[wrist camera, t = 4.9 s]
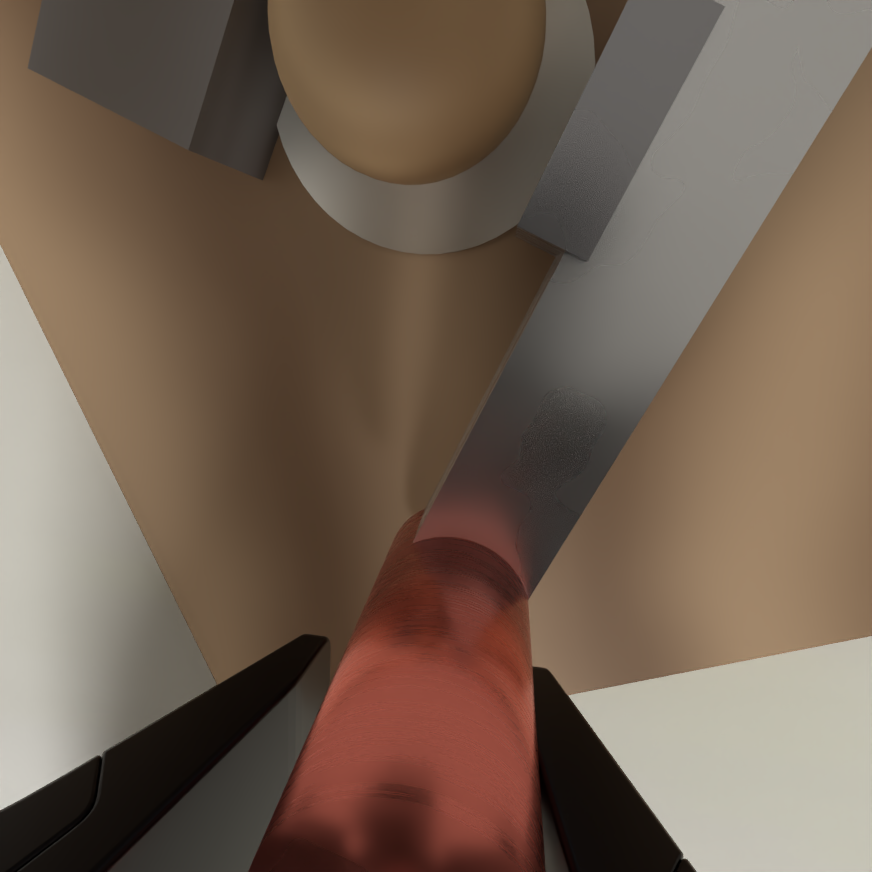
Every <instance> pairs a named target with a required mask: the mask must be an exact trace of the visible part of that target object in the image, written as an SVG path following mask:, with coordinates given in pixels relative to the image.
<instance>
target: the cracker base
mask: <svg viewBox="0 0 872 872" xmlns="http://www.w3.org/2000/svg"><path fill="white" fill-rule="evenodd" d="M627 1H628V0H545V2H546V34H545V45H544V51H543V57H542V62H541V66H540V70H539V73H538V77H537V80H536V83H535V86H534V89H533V91H532V94H531V96H530V99H529V101H528V104H527V105H526V107H525V109H524V111H523V113H522V115H521V117H520V118H519V120H518V122H517V123H516V124H515V126H514V127H513V129H512V130H511V132H510V133H509V134H508V136H507V137H506V138H505V139H504V140H503V141H502V142H501V143H500V145H499V146H498V147H497V148H496V149H495V150H494V151H493V152H491V153H490V154H489V155H488V156H487V157H486V158H484V159H483V160H482V161H480V162H479V163H477V164H476V165H474V166H473V167H471V168H470V169H468V170H466V171H464V172H462V173H460V174H458V175H456V176H454V177H451V178H448V179H445V180H442V181H439V182H434V183H428V184H422V185H402V184H393V183H388V182H384V181H380V180H376V179H373V178H371V177H369V176H366V175H364V174H362V173H359V172H357V171H355V170H353V169H352V168H350V167H348V166H347V165H345V164H343V163H342V162H340V161H339V160H338V159H337V158H335V157H334V156H333V155H332V154H330V153H329V152H328V151H327V150H326V149H325V148H324V147H323V146H322V145H321V144H320V143H319V142H318V141H317V140H316V139H315V138H314V137H313V136H312V135H311V133H310V132H309V131H308V129H307V128H306V127H305V125H304V124H303V123H302V121H301V120H300V118H299V117H298V115H297V113H296V111H295V110H294V108H293V106H292V104H291V103H290V101H289V99H288V97H287V94H286V92H285V90H284V87H283V85H282V83H281V80H280V78H279V74H278V71H277V68H276V64H275V61H274V56H273V51H272V45H271V40H270V34H269V24H268V0H0V245H1V247H2V249H3V251H4V253H5V255H6V257H7V259H8V261H9V263H10V265H11V267H12V269H13V271H14V273H15V275H16V277H17V279H18V281H19V283H20V285H21V287H22V289H23V292H24V294H25V296H26V298H27V300H28V302H29V304H30V306H31V308H32V310H33V312H34V314H35V316H36V318H37V320H38V322H39V324H40V326H41V328H42V330H43V332H44V334H45V336H46V338H47V340H48V342H49V344H50V346H51V348H52V350H53V352H54V354H55V356H56V358H57V361H58V363H59V365H60V367H61V369H62V371H63V373H64V375H65V377H66V379H67V381H68V383H69V385H70V387H71V389H72V391H73V393H74V395H75V397H76V399H77V401H78V403H79V405H80V407H81V409H82V411H83V413H84V415H85V417H86V419H87V421H88V423H89V425H90V428H91V430H92V432H93V434H94V436H95V438H96V440H97V442H98V444H99V446H100V448H101V450H102V452H103V454H104V456H105V458H106V460H107V462H108V464H109V466H110V468H111V470H112V472H113V474H114V476H115V478H116V480H117V482H118V484H119V486H120V488H121V490H122V492H123V494H124V497H125V499H126V501H127V503H128V505H129V507H130V509H131V511H132V513H133V515H134V517H135V519H136V521H137V523H138V525H139V527H140V529H141V531H142V533H143V535H144V537H145V539H146V541H147V543H148V545H149V547H150V549H151V551H152V553H153V555H154V557H155V559H156V561H157V563H158V566H159V568H160V570H161V572H162V574H163V576H164V578H165V580H166V582H167V584H168V586H169V588H170V590H171V592H172V594H173V596H174V598H175V600H176V602H177V604H178V606H179V608H180V610H181V612H182V614H183V616H184V618H185V620H186V622H187V624H188V626H189V628H190V630H191V632H192V635H193V637H194V639H195V641H196V643H197V645H198V647H199V649H200V651H201V653H202V655H203V657H204V659H205V661H206V663H207V665H208V667H209V669H210V671H211V673H212V675H213V677H214V679H215V681H216V683H217V685H218V684H219V683H221V682H223V681H225V680H226V679H228V678H230V677H231V676H233V675H235V674H236V673H238V672H240V671H241V670H243V669H245V668H246V667H248V666H250V665H252V664H253V663H255V662H257V661H258V660H260V659H262V658H263V657H265V656H267V655H268V654H270V653H272V652H274V651H275V650H277V649H279V648H280V647H282V646H284V645H285V644H287V643H289V642H290V641H292V640H294V639H295V638H297V637H299V636H301V635H303V634H313V635H320V636H326V637H328V638H329V640H330V644H331V656H330V684H331V681H332V679H333V677H334V674H335V672H336V670H337V668H338V665H339V663H340V661H341V659H342V656H343V654H344V652H345V649H346V647H347V645H348V643H349V640H350V638H351V636H352V633H353V631H354V629H355V627H356V624H357V622H358V620H359V618H360V615H361V613H362V611H363V608H364V606H365V604H366V602H367V599H368V597H369V595H370V592H371V590H372V588H373V586H374V583H375V581H376V579H377V577H378V574H379V572H380V570H381V567H382V565H383V563H384V561H385V558H386V556H387V554H388V551H389V549H390V547H391V545H392V542H393V540H394V538H395V536H396V534H397V532H398V531H399V529H400V528H401V526H402V525H403V524H404V523H405V522H406V521H407V520H408V519H409V518H410V517H411V516H413V515H414V514H416V513H417V512H419V511H421V510H423V509H425V508H426V506H427V504H428V502H429V500H430V498H431V496H432V494H433V492H434V490H435V488H436V486H437V484H438V482H439V481H440V479H441V477H442V475H443V473H444V471H445V469H446V467H447V465H448V463H449V461H450V459H451V457H452V456H453V454H454V452H455V450H456V448H457V446H458V444H459V442H460V440H461V438H462V436H463V434H464V432H465V431H466V429H467V427H468V425H469V423H470V421H471V419H472V417H473V415H474V413H475V411H476V409H477V407H478V406H479V404H480V402H481V400H482V398H483V396H484V394H485V392H486V390H487V388H488V386H489V384H490V382H491V380H492V379H493V377H494V375H495V373H496V371H497V369H498V367H499V365H500V363H501V361H502V359H503V357H504V355H505V354H506V352H507V350H508V348H509V346H510V344H511V342H512V340H513V338H514V336H515V334H516V332H517V330H518V329H519V327H520V325H521V323H522V321H523V319H524V317H525V315H526V313H527V311H528V309H529V307H530V305H531V304H532V302H533V300H534V298H535V296H536V294H537V292H538V290H539V288H540V286H541V284H542V282H543V280H544V279H545V277H546V275H547V273H548V271H549V269H550V267H551V265H552V263H553V261H554V259H555V256H553V255H551V254H549V253H547V252H545V251H543V250H541V249H539V248H537V247H535V246H533V245H531V244H529V243H527V242H525V241H523V240H521V239H519V238H517V237H515V236H516V230H517V226H518V223H519V221H520V219H521V217H522V215H523V213H524V211H525V209H526V207H527V205H528V203H529V201H530V199H531V197H532V195H533V193H534V191H535V189H536V187H537V185H538V183H539V181H540V179H541V177H542V175H543V172H544V170H545V168H546V166H547V164H548V162H549V160H550V158H551V156H552V154H553V152H554V150H555V148H556V146H557V144H558V142H559V140H560V138H561V136H562V134H563V132H564V130H565V128H566V126H567V124H568V121H569V119H570V117H571V115H572V113H573V111H574V109H575V107H576V105H577V103H578V101H579V99H580V97H581V95H582V93H583V91H584V89H585V87H586V85H587V83H588V81H589V79H590V77H591V75H592V73H593V70H594V68H595V66H596V64H597V62H598V60H599V58H600V56H601V54H602V52H603V50H604V48H605V46H606V44H607V42H608V40H609V38H610V36H611V34H612V32H613V30H614V28H615V26H616V24H617V22H618V20H619V17H620V15H621V13H622V11H623V9H624V7H625V5H626V3H627ZM528 605H529V621H530V636H531V652H532V666H536V667H543V668H547V669H548V670H550V672H551V673H552V674H553V676H554V677H555V678H556V680H557V681H558V683H559V684H560V685H561V687H562V688H563V689H564V691H565V692H566V694H567V695H571V694H576V693H581V692H586V691H591V690H597V689H602V688H607V687H612V686H617V685H622V684H627V683H632V682H638V681H643V680H648V679H653V678H658V677H663V676H668V675H673V674H679V673H684V672H689V671H694V670H699V669H704V668H709V667H714V666H720V665H725V664H730V663H735V662H740V661H745V660H750V659H756V658H761V657H766V656H771V655H776V654H781V653H786V652H791V651H797V650H802V649H807V648H812V647H817V646H822V645H827V644H832V643H838V642H843V641H848V640H853V639H858V638H863V637H868V636H872V48H871V49H870V51H869V53H868V54H867V56H866V57H865V59H864V61H863V62H862V64H861V65H860V67H859V69H858V70H857V72H856V73H855V75H854V77H853V78H852V80H851V82H850V83H849V85H848V86H847V88H846V90H845V91H844V93H843V94H842V96H841V98H840V99H839V101H838V102H837V104H836V106H835V107H834V109H833V110H832V112H831V114H830V115H829V117H828V119H827V120H826V122H825V123H824V125H823V127H822V128H821V130H820V131H819V133H818V135H817V136H816V138H815V139H814V141H813V143H812V144H811V146H810V147H809V149H808V151H807V152H806V154H805V156H804V157H803V159H802V160H801V162H800V164H799V165H798V167H797V168H796V170H795V172H794V173H793V175H792V176H791V178H790V180H789V181H788V183H787V184H786V186H785V188H784V189H783V191H782V193H781V194H780V196H779V197H778V199H777V201H776V202H775V204H774V205H773V207H772V209H771V210H770V212H769V213H768V215H767V217H766V218H765V220H764V221H763V223H762V225H761V226H760V228H759V230H758V231H757V233H756V234H755V236H754V238H753V239H752V241H751V242H750V244H749V246H748V247H747V249H746V250H745V252H744V254H743V255H742V257H741V258H740V260H739V262H738V263H737V265H736V267H735V268H734V270H733V271H732V273H731V275H730V276H729V278H728V279H727V281H726V283H725V284H724V286H723V287H722V289H721V291H720V292H719V294H718V295H717V297H716V299H715V300H714V302H713V304H712V305H711V307H710V308H709V310H708V312H707V313H706V315H705V316H704V318H703V320H702V321H701V323H700V324H699V326H698V328H697V329H696V331H695V333H694V334H693V336H692V337H691V339H690V341H689V342H688V344H687V345H686V347H685V349H684V350H683V352H682V353H681V355H680V357H679V358H678V360H677V361H676V363H675V365H674V366H673V368H672V370H671V371H670V373H669V374H668V376H667V378H666V379H665V381H664V382H663V384H662V386H661V387H660V389H659V390H658V392H657V394H656V395H655V397H654V398H653V400H652V402H651V403H650V405H649V407H648V408H647V410H646V411H645V413H644V415H643V416H642V418H641V419H640V421H639V423H638V424H637V426H636V427H635V429H634V431H633V432H632V434H631V435H630V437H629V439H628V440H627V442H626V444H625V445H624V447H623V448H622V450H621V452H620V453H619V455H618V456H617V458H616V460H615V461H614V463H613V464H612V466H611V468H610V469H609V471H608V472H607V474H606V476H605V477H604V479H603V481H602V482H601V484H600V485H599V487H598V489H597V490H596V492H595V493H594V495H593V497H592V498H591V500H590V501H589V503H588V505H587V506H586V508H585V509H584V511H583V513H582V514H581V516H580V518H579V519H578V521H577V522H576V524H575V526H574V527H573V529H572V530H571V532H570V534H569V535H568V537H567V538H566V540H565V542H564V543H563V545H562V546H561V548H560V550H559V551H558V553H557V555H556V556H555V558H554V559H553V561H552V563H551V564H550V566H549V567H548V569H547V571H546V572H545V574H544V575H543V577H542V579H541V580H540V582H539V583H538V585H537V587H536V588H535V590H534V592H533V593H532V595H531V596H530V598H529V600H528ZM329 686H330V685H329Z"/></svg>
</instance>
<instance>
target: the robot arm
mask: <svg viewBox="0 0 872 872" xmlns="http://www.w3.org/2000/svg"><path fill="white" fill-rule="evenodd" d="M330 656H331V644H330V640H329V638H328V637H326V636H320V635H313V634H303V635H301V636H299V637H297V638H295V639H294V640H292V641H290V642H289V643H287V644H285V645H284V646H282V647H280V648H279V649H277V650H275V651H274V652H272V653H270V654H268V655H267V656H265V657H263V658H262V659H260V660H258V661H257V662H255V663H253V664H252V665H250V666H248V667H246V668H245V669H243V670H241V671H240V672H238V673H236V674H235V675H233V676H231V677H230V678H228V679H226V680H225V681H223V682H221V683H219V684H218V685H216V686H214V687H213V688H211V689H209V690H208V691H206V692H204V693H203V694H201V695H199V696H197V697H196V698H194V699H192V700H191V701H189V702H187V703H186V704H184V705H182V706H181V707H179V708H177V709H175V710H174V711H172V712H170V713H169V714H167V715H165V716H164V717H162V718H160V719H159V720H157V721H155V722H154V723H152V724H150V725H148V726H147V727H145V728H143V729H142V730H140V731H138V732H137V733H135V734H133V735H132V736H130V737H128V738H126V739H125V740H123V741H121V742H120V743H118V744H116V745H115V746H113V747H111V748H110V749H108V750H106V751H105V752H104V753H103V754H102V758H101V756H96V757H94V758H92V759H91V760H89V761H87V762H86V763H84V764H82V765H80V766H79V767H77V768H75V769H74V770H72V771H70V772H69V773H67V774H65V775H63V776H62V777H60V778H58V779H56V780H55V781H53V782H51V783H49V784H47V785H46V786H44V787H42V788H40V789H39V790H37V791H35V792H33V793H32V794H30V795H28V796H26V797H25V798H23V799H21V800H19V801H17V802H15V803H13V804H12V805H10V806H8V807H6V808H4V809H2V810H0V872H248V871H249V869H250V866H251V864H252V861H253V859H254V857H255V854H256V852H257V850H258V848H259V845H260V843H261V841H262V839H263V836H264V834H265V832H266V829H267V827H268V825H269V823H270V820H271V818H272V816H273V813H274V811H275V809H276V807H277V804H278V802H279V800H280V798H281V795H282V793H283V791H284V788H285V786H286V784H287V782H288V779H289V777H290V775H291V772H292V770H293V768H294V766H295V763H296V761H297V759H298V757H299V754H300V752H301V750H302V747H303V745H304V743H305V741H306V738H307V736H308V734H309V731H310V729H311V727H312V725H313V722H314V720H315V718H316V716H317V713H318V711H319V709H320V706H321V704H322V702H323V700H324V697H325V695H326V693H327V690H328V688H329V685H330ZM532 667H533V683H534V698H535V714H536V729H537V745H538V760H539V776H540V791H541V806H542V822H543V837H544V853H545V868H546V872H696V870H695V869H694V868H693V866H692V865H691V863H690V862H689V861H688V860H687V859H683V853H682V852H681V850H680V849H679V847H678V846H677V845H676V843H675V842H674V841H673V839H672V838H671V836H670V835H669V834H668V832H667V831H666V830H665V828H664V827H663V825H662V824H661V823H660V821H659V820H658V819H657V817H656V816H655V814H654V813H653V812H652V810H651V809H650V808H649V806H648V805H647V803H646V802H645V801H644V799H643V798H642V797H641V795H640V794H639V792H638V791H637V790H636V788H635V787H634V786H633V784H632V783H631V781H630V780H629V779H628V777H627V776H626V775H625V773H624V772H623V771H622V769H621V768H620V766H619V765H618V764H617V762H616V761H615V760H614V758H613V757H612V755H611V754H610V753H609V751H608V750H607V749H606V747H605V746H604V744H603V743H602V742H601V740H600V739H599V738H598V736H597V735H596V733H595V732H594V731H593V729H592V728H591V727H590V725H589V724H588V722H587V721H586V720H585V718H584V717H583V716H582V714H581V713H580V711H579V710H578V709H577V707H576V706H575V705H574V703H573V702H572V700H571V699H570V698H569V696H568V695H567V694H566V692H565V691H564V689H563V688H562V687H561V685H560V684H559V683H558V681H557V680H556V678H555V677H554V676H553V674H552V673H551V672H550V670H548V669H547V668H543V667H536V666H532Z"/></svg>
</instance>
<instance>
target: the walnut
mask: <svg viewBox="0 0 872 872" xmlns="http://www.w3.org/2000/svg"><path fill="white" fill-rule="evenodd" d="M268 24H269V34H270V40H271V45H272V51H273V56H274V61H275V64H276V68H277V71H278V74H279V78H280V80H281V83H282V85H283V87H284V90H285V92H286V94H287V97H288V99H289V101H290V103H291V104H292V106H293V108H294V110H295V111H296V113H297V115H298V117H299V118H300V120H301V121H302V123H303V124H304V125H305V127H306V128H307V129H308V131H309V132H310V133H311V135H312V136H313V137H314V138H315V139H316V140H317V141H318V142H319V143H320V144H321V145H322V146H323V147H324V148H325V149H326V150H327V151H328V152H329V153H330V154H332V155H333V156H334V157H335V158H337V159H338V160H339V161H340V162H342V163H343V164H345V165H347V166H348V167H350V168H352V169H353V170H355V171H357V172H359V173H362V174H364V175H366V176H369V177H371V178H373V179H376V180H380V181H384V182H388V183H393V184H402V185H422V184H428V183H434V182H439V181H442V180H445V179H448V178H451V177H454V176H456V175H458V174H460V173H462V172H464V171H466V170H468V169H470V168H471V167H473V166H474V165H476V164H477V163H479V162H480V161H482V160H483V159H484V158H486V157H487V156H488V155H489V154H490V153H491V152H493V151H494V150H495V149H496V148H497V147H498V146H499V145H500V143H501V142H502V141H503V140H504V139H505V138H506V137H507V136H508V134H509V133H510V132H511V130H512V129H513V127H514V126H515V124H516V123H517V122H518V120H519V118H520V117H521V115H522V113H523V111H524V109H525V107H526V105H527V104H528V101H529V99H530V96H531V94H532V91H533V89H534V86H535V83H536V80H537V77H538V73H539V70H540V66H541V62H542V57H543V51H544V45H545V34H546V2H545V0H268Z"/></svg>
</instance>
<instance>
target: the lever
mask: <svg viewBox="0 0 872 872" xmlns="http://www.w3.org/2000/svg"><path fill="white" fill-rule="evenodd" d="M871 48H872V0H628V1H627V3H626V5H625V7H624V9H623V11H622V13H621V15H620V17H619V20H618V22H617V24H616V26H615V28H614V30H613V32H612V34H611V36H610V38H609V40H608V42H607V44H606V46H605V48H604V50H603V52H602V54H601V56H600V58H599V60H598V62H597V64H596V66H595V68H594V70H593V73H592V75H591V77H590V79H589V81H588V83H587V85H586V87H585V89H584V91H583V93H582V95H581V97H580V99H579V101H578V103H577V105H576V107H575V109H574V111H573V113H572V115H571V117H570V119H569V121H568V124H567V126H566V128H565V130H564V132H563V134H562V136H561V138H560V140H559V142H558V144H557V146H556V148H555V150H554V152H553V154H552V156H551V158H550V160H549V162H548V164H547V166H546V168H545V170H544V172H543V175H542V177H541V179H540V181H539V183H538V185H537V187H536V189H535V191H534V193H533V195H532V197H531V199H530V201H529V203H528V205H527V207H526V209H525V211H524V213H523V215H522V217H521V219H520V221H519V223H518V226H517V230H516V236H515V237H517V238H519V239H521V240H523V241H525V242H527V243H529V244H531V245H533V246H535V247H537V248H539V249H541V250H543V251H545V252H547V253H549V254H551V255H553V256H555V259H554V261H553V263H552V265H551V267H550V269H549V271H548V273H547V275H546V277H545V279H544V280H543V282H542V284H541V286H540V288H539V290H538V292H537V294H536V296H535V298H534V300H533V302H532V304H531V305H530V307H529V309H528V311H527V313H526V315H525V317H524V319H523V321H522V323H521V325H520V327H519V329H518V330H517V332H516V334H515V336H514V338H513V340H512V342H511V344H510V346H509V348H508V350H507V352H506V354H505V355H504V357H503V359H502V361H501V363H500V365H499V367H498V369H497V371H496V373H495V375H494V377H493V379H492V380H491V382H490V384H489V386H488V388H487V390H486V392H485V394H484V396H483V398H482V400H481V402H480V404H479V406H478V407H477V409H476V411H475V413H474V415H473V417H472V419H471V421H470V423H469V425H468V427H467V429H466V431H465V432H464V434H463V436H462V438H461V440H460V442H459V444H458V446H457V448H456V450H455V452H454V454H453V456H452V457H451V459H450V461H449V463H448V465H447V467H446V469H445V471H444V473H443V475H442V477H441V479H440V481H439V482H438V484H437V486H436V488H435V490H434V492H433V494H432V496H431V498H430V500H429V502H428V504H427V506H426V508H425V509H423V510H421V511H419V512H417V513H416V514H414V515H413V516H411V517H410V518H409V519H408V520H407V521H406V522H405V523H404V524H403V525H402V526H401V528H400V529H399V531H398V532H397V534H396V536H395V538H394V540H393V542H392V545H391V547H390V549H389V551H388V554H387V556H386V558H385V561H384V563H383V565H382V567H381V570H380V572H379V574H378V577H377V579H376V581H375V583H374V586H373V588H372V590H371V592H370V595H369V597H368V599H367V602H366V604H365V606H364V608H363V611H362V613H361V615H360V618H359V620H358V622H357V624H356V627H355V629H354V631H353V633H352V636H351V638H350V640H349V643H348V645H347V647H346V649H345V652H344V654H343V656H342V659H341V661H340V663H339V665H338V668H337V670H336V672H335V674H334V677H333V679H332V681H331V684H330V686H329V688H328V690H327V693H326V695H325V697H324V700H323V702H322V704H321V706H320V709H319V711H318V713H317V716H316V718H315V720H314V722H313V725H312V727H311V729H310V731H309V734H308V736H307V738H306V741H305V743H304V745H303V747H302V750H301V752H300V754H299V757H298V759H297V761H296V763H295V766H294V768H293V770H292V772H291V775H290V777H289V779H288V782H287V784H286V786H285V788H284V791H283V793H282V795H281V798H280V800H279V802H278V804H277V807H276V809H275V811H274V813H273V816H272V818H271V820H270V823H269V825H268V827H267V829H266V832H265V834H264V836H263V839H262V841H261V843H260V845H259V848H258V850H257V852H256V854H255V857H254V859H253V861H252V864H251V866H250V869H249V871H248V872H546V868H545V853H544V837H543V822H542V806H541V791H540V776H539V760H538V745H537V729H536V714H535V698H534V683H533V667H532V652H531V636H530V621H529V605H528V600H529V598H530V596H531V595H532V593H533V592H534V590H535V588H536V587H537V585H538V583H539V582H540V580H541V579H542V577H543V575H544V574H545V572H546V571H547V569H548V567H549V566H550V564H551V563H552V561H553V559H554V558H555V556H556V555H557V553H558V551H559V550H560V548H561V546H562V545H563V543H564V542H565V540H566V538H567V537H568V535H569V534H570V532H571V530H572V529H573V527H574V526H575V524H576V522H577V521H578V519H579V518H580V516H581V514H582V513H583V511H584V509H585V508H586V506H587V505H588V503H589V501H590V500H591V498H592V497H593V495H594V493H595V492H596V490H597V489H598V487H599V485H600V484H601V482H602V481H603V479H604V477H605V476H606V474H607V472H608V471H609V469H610V468H611V466H612V464H613V463H614V461H615V460H616V458H617V456H618V455H619V453H620V452H621V450H622V448H623V447H624V445H625V444H626V442H627V440H628V439H629V437H630V435H631V434H632V432H633V431H634V429H635V427H636V426H637V424H638V423H639V421H640V419H641V418H642V416H643V415H644V413H645V411H646V410H647V408H648V407H649V405H650V403H651V402H652V400H653V398H654V397H655V395H656V394H657V392H658V390H659V389H660V387H661V386H662V384H663V382H664V381H665V379H666V378H667V376H668V374H669V373H670V371H671V370H672V368H673V366H674V365H675V363H676V361H677V360H678V358H679V357H680V355H681V353H682V352H683V350H684V349H685V347H686V345H687V344H688V342H689V341H690V339H691V337H692V336H693V334H694V333H695V331H696V329H697V328H698V326H699V324H700V323H701V321H702V320H703V318H704V316H705V315H706V313H707V312H708V310H709V308H710V307H711V305H712V304H713V302H714V300H715V299H716V297H717V295H718V294H719V292H720V291H721V289H722V287H723V286H724V284H725V283H726V281H727V279H728V278H729V276H730V275H731V273H732V271H733V270H734V268H735V267H736V265H737V263H738V262H739V260H740V258H741V257H742V255H743V254H744V252H745V250H746V249H747V247H748V246H749V244H750V242H751V241H752V239H753V238H754V236H755V234H756V233H757V231H758V230H759V228H760V226H761V225H762V223H763V221H764V220H765V218H766V217H767V215H768V213H769V212H770V210H771V209H772V207H773V205H774V204H775V202H776V201H777V199H778V197H779V196H780V194H781V193H782V191H783V189H784V188H785V186H786V184H787V183H788V181H789V180H790V178H791V176H792V175H793V173H794V172H795V170H796V168H797V167H798V165H799V164H800V162H801V160H802V159H803V157H804V156H805V154H806V152H807V151H808V149H809V147H810V146H811V144H812V143H813V141H814V139H815V138H816V136H817V135H818V133H819V131H820V130H821V128H822V127H823V125H824V123H825V122H826V120H827V119H828V117H829V115H830V114H831V112H832V110H833V109H834V107H835V106H836V104H837V102H838V101H839V99H840V98H841V96H842V94H843V93H844V91H845V90H846V88H847V86H848V85H849V83H850V82H851V80H852V78H853V77H854V75H855V73H856V72H857V70H858V69H859V67H860V65H861V64H862V62H863V61H864V59H865V57H866V56H867V54H868V53H869V51H870V49H871Z"/></svg>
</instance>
